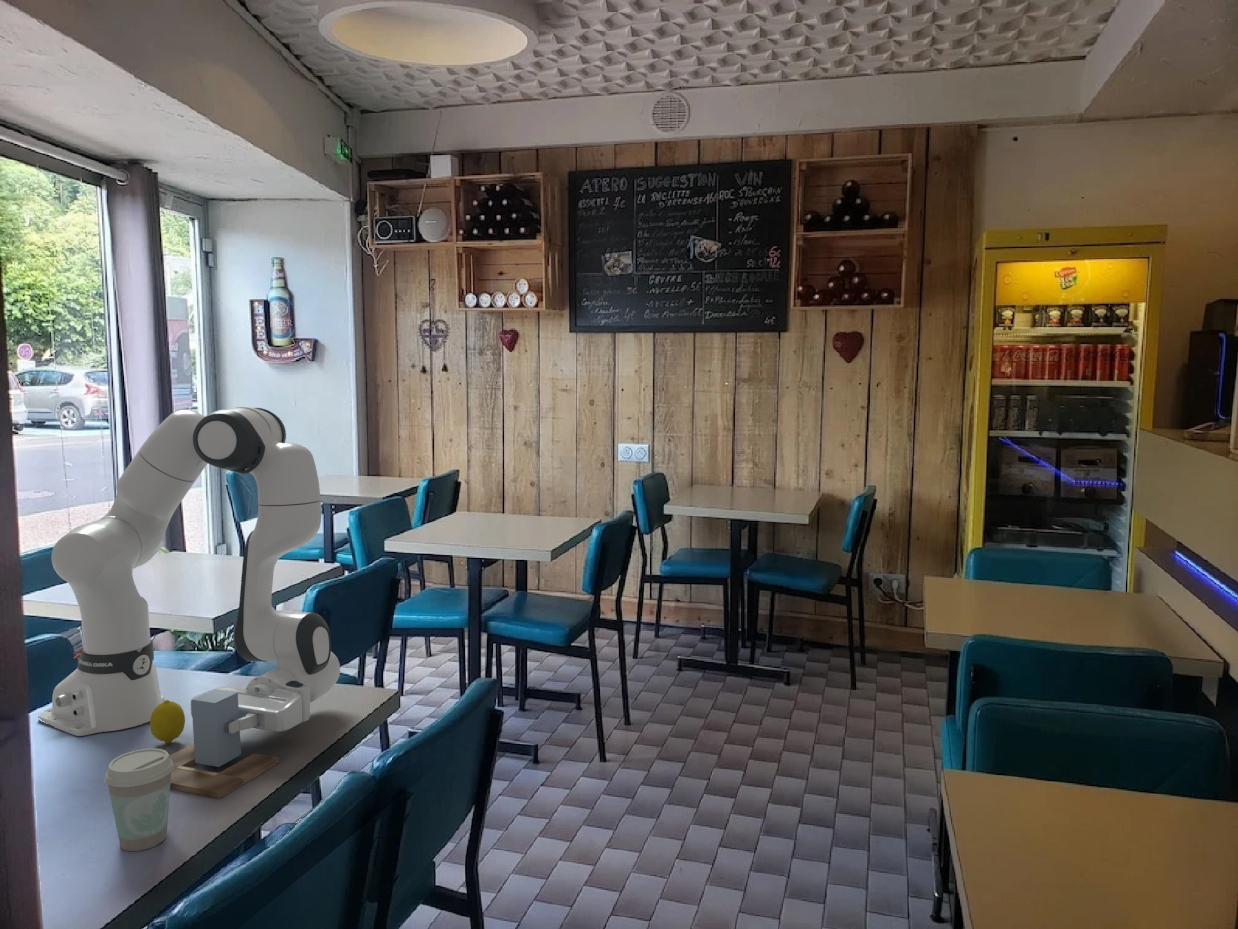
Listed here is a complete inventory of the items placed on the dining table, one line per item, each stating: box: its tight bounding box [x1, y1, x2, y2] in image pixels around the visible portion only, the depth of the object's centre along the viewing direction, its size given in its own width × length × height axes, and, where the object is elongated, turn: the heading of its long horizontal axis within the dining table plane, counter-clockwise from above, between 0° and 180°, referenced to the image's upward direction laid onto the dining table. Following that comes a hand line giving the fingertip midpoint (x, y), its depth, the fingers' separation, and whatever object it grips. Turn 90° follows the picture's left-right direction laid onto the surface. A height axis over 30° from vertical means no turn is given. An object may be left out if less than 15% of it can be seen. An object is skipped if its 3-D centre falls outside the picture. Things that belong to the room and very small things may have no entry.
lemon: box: [149, 699, 186, 744], centre depth 154 cm, size 6×6×8 cm
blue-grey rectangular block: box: [190, 688, 242, 768], centre depth 145 cm, size 5×5×11 cm
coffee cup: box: [104, 748, 174, 852], centre depth 121 cm, size 8×9×12 cm
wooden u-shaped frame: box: [169, 742, 279, 800], centre depth 143 cm, size 18×13×1 cm
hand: (212, 726), depth 144 cm, fingers closed on blue-grey rectangular block, 5 cm apart
